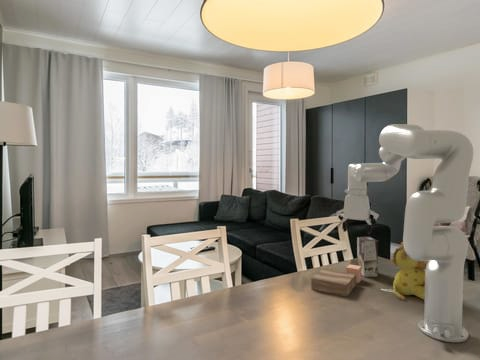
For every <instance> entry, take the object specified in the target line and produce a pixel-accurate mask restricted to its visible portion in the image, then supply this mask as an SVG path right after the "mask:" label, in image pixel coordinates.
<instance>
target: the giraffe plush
mask: <svg viewBox="0 0 480 360" xmlns="http://www.w3.org/2000/svg"><path fill="white" fill-rule="evenodd" d="M391 261H392V263H393V265H395V266H396V267H399V268H400V269H399V271H398V272H397V273H396V274H395V277H394V280H393V283H392V287H393V289H386V288H380V291H384V292H386V293H387V292H388V293H394V294H395V295H396V297H398V298H399V300H401V301H406V297H405V296H411V295H412V296H416V297H417V298H419V299H422V300H424V301H425V270H426V266H427V263H428V261H416V260H413V259H411V258H410V257H409V256H408V255H407V254H406V252H405V249H404V245H403V241H402V242H400V246H399V247H397V248H395V250H394V252H393V255H392V259H391Z"/></svg>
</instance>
